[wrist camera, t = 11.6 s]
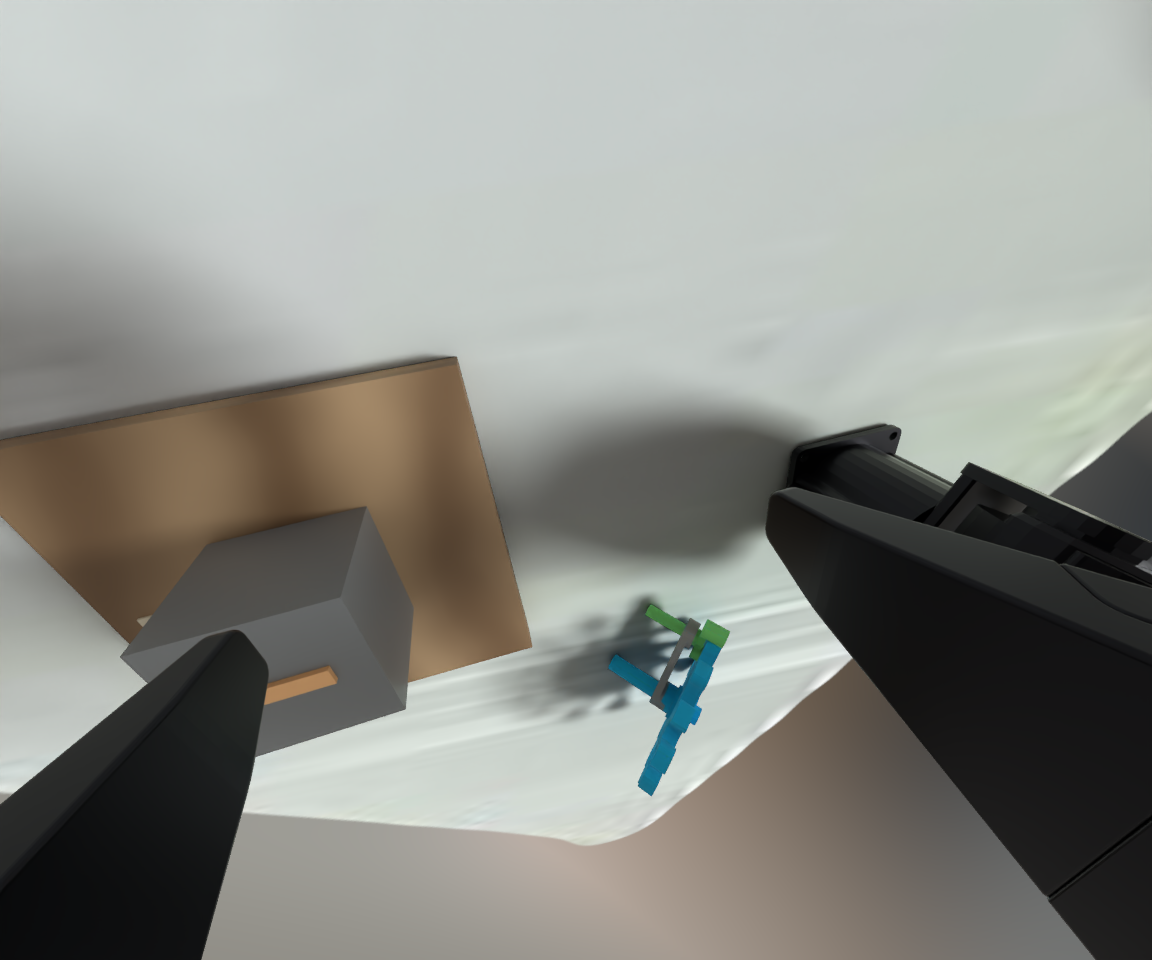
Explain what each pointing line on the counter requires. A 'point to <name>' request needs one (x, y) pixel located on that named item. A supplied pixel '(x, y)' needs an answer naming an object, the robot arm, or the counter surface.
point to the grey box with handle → (297, 622)
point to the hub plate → (280, 499)
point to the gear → (674, 687)
